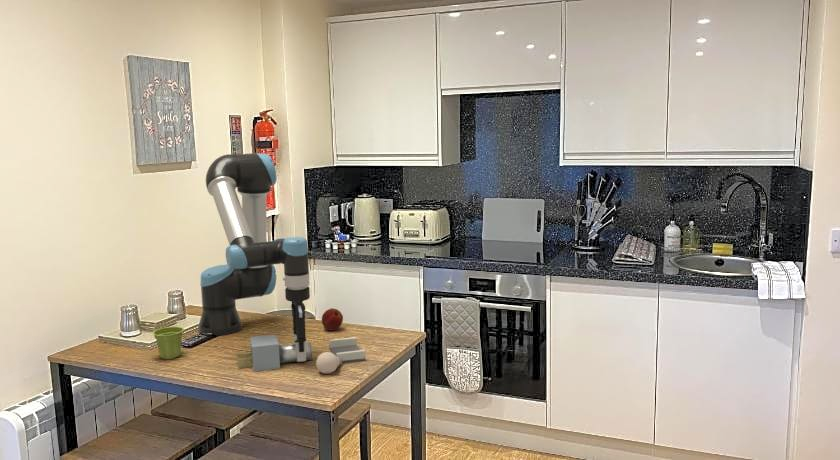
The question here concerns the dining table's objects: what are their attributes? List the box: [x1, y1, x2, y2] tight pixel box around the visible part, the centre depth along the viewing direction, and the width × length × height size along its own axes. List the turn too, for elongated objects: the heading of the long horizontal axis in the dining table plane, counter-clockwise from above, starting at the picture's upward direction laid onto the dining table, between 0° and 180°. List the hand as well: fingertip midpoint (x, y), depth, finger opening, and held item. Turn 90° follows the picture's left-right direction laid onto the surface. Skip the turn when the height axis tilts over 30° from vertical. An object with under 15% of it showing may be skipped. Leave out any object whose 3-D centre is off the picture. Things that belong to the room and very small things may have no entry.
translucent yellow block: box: [236, 352, 253, 369], centre depth 204 cm, size 4×8×4 cm, turn 108°
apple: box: [321, 307, 344, 331], centre depth 238 cm, size 7×8×8 cm
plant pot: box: [152, 326, 184, 360], centre depth 212 cm, size 9×9×9 cm
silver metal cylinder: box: [279, 341, 313, 364], centre depth 207 cm, size 12×6×6 cm, turn 107°
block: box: [249, 334, 281, 372], centre depth 204 cm, size 10×8×8 cm
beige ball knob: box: [315, 351, 343, 375], centre depth 199 cm, size 7×7×11 cm
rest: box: [328, 336, 366, 364], centre depth 212 cm, size 14×9×3 cm, turn 18°
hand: (300, 357), depth 208 cm, fingers closed on silver metal cylinder, 6 cm apart
